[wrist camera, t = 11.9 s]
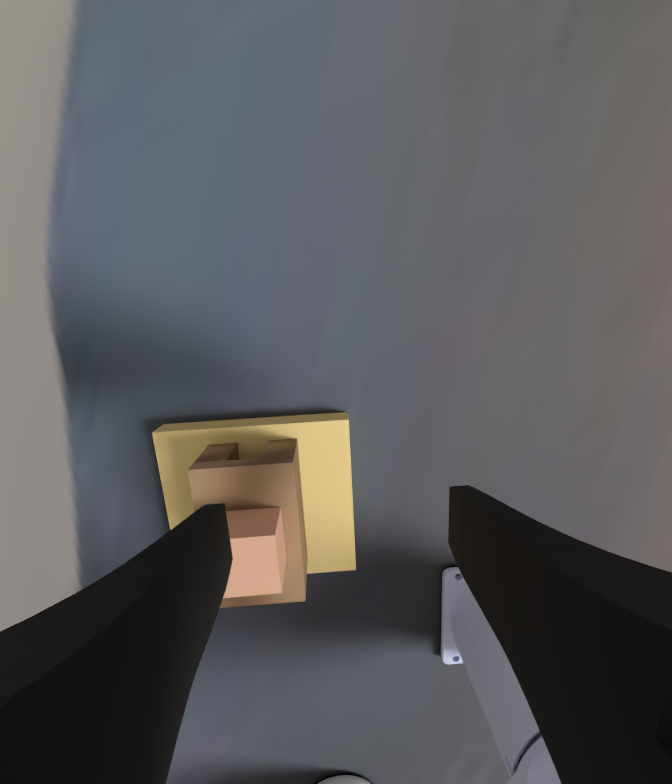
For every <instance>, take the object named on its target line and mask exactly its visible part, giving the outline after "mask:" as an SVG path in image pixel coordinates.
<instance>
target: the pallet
mask: <svg viewBox="0 0 672 784" xmlns="http://www.w3.org/2000/svg"><path fill="white" fill-rule="evenodd" d="M188 475H189V481H190V487H191V493H192V499H193V505H194V511H197V510H198V509H199V508H201V507H202V506H204V505H205V504H219V503H225V508H226V511H237V510H249V509H262V508H275V507H281V515H282V524H283V533H284V542H285V551H286V566H285V573H284V580H283V587H282V593H277V594H266V595H254V596H242V597H231V598H223V600H222V602H221V605H220V608H227V607H239V606H251V605H264V604H276V603H288V602H300V601H306V582H307V563H308V557H307V545H306V534H305V522H304V511H303V499H302V488H301V476H300V464H299V453H298V441H297V439H283V440H269V442H268V444H267V447H266V450H265V452H264V455H263V457H262V458H255V459H240V460H239V452H238V444H237V443H224V444H209V445H208V446H207V447H206V449H205V450H204V451H203V452H202V453H201V455H200V456H199V457H198V458H197V459H196V460H195V462H194V463H193V464H192V465H191V466H190V468H189V469H188Z"/></svg>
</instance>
